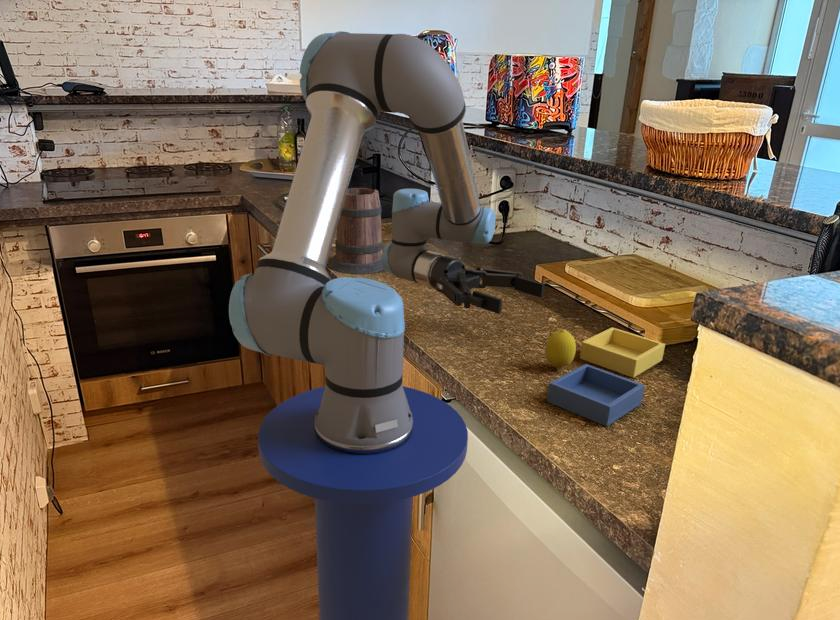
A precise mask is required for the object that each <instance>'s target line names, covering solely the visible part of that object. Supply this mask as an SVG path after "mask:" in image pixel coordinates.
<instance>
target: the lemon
mask: <svg viewBox="0 0 840 620" xmlns="http://www.w3.org/2000/svg"><path fill="white" fill-rule="evenodd" d="M576 350H577V345H576V340H575V337H574V336H573V334H571V333H570V332H569V331H566V329H564V328H562V329H560V330H556V331H555V332H552V333H551V335H549V337H548V339H547V341H546V344H545V358H546V360H547V361H548V363H549V364H550V365H552V366H554V367H555V369H557V370H560V369H562V368H564V367H567V366H569V365H570V364H571V363H573V361H574V359H575V357H576Z"/></svg>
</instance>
